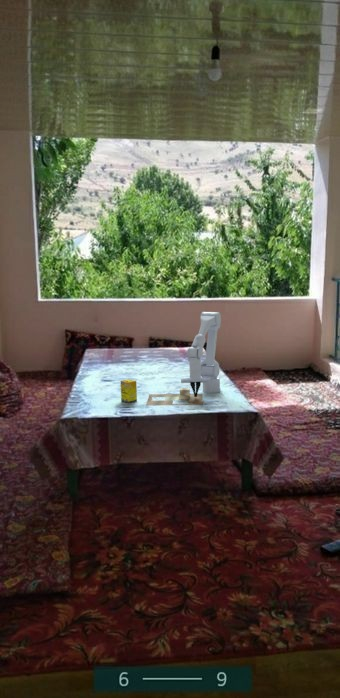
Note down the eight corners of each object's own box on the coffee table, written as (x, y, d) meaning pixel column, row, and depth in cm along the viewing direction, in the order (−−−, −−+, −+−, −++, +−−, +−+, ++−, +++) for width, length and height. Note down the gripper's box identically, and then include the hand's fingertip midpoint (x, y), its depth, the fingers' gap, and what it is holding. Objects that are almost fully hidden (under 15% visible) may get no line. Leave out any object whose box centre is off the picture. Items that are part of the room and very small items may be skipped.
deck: (202, 396, 277) (202, 393, 277) (203, 407, 256) (203, 404, 255) (149, 397, 279) (149, 394, 278) (145, 408, 257) (145, 405, 257)
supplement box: (120, 401, 271) (120, 380, 269) (129, 399, 275) (129, 378, 274) (128, 403, 267) (127, 382, 265) (137, 401, 271) (136, 380, 269)
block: (189, 397, 271) (189, 387, 270) (189, 399, 266) (189, 389, 265) (180, 397, 271) (180, 387, 270) (179, 399, 266) (179, 390, 265)
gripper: (180, 372, 262) (181, 398, 264) (209, 371, 261) (210, 398, 264) (181, 369, 269) (181, 395, 271) (209, 369, 268) (209, 394, 271)
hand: (195, 396), depth 268 cm, fingers closed
